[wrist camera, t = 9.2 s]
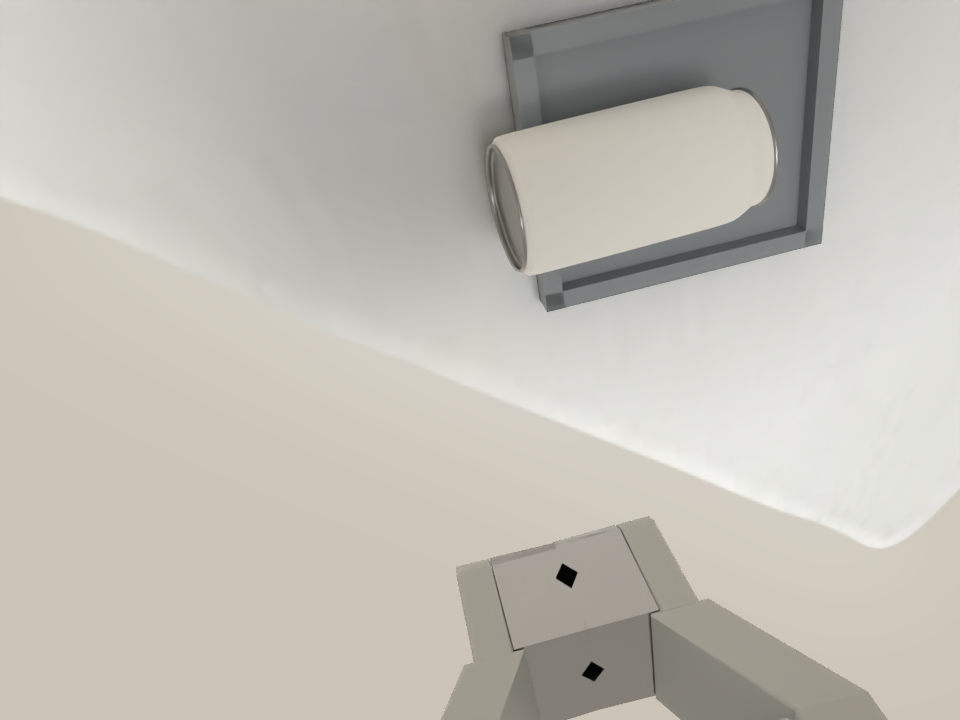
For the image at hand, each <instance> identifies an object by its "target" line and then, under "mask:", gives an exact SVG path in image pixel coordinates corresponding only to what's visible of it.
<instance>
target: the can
mask: <svg viewBox="0 0 960 720" xmlns="http://www.w3.org/2000/svg"><path fill="white" fill-rule="evenodd" d="M778 166H779V151H778V142H777V136H776V132H775V128H774V125H773V122H772V119H771V116H770V114H769V112H768V110H767V108H766V106H765V105H764V103H763V102H762V100H761V99H760V98H759V97H758V96H757V95H756V94H755V93H754V92H753V91H751V90H749V89H747V88H744V87H736V88H733V89H731V90H727V89H724V88H720V87H716V86H702V87H697V88H692V89H688V90H683V91H679V92H675V93H671V94H666V95H662V96H658V97H654V98H650V99H646V100H641V101H637V102H633V103H629V104H625V105H621V106H617V107H613V108H608V109H604V110H600V111H596V112H592V113H588V114H584V115H580V116H576V117H572V118H568V119H563V120H559V121H555V122H551V123H547V124H543V125H539V126H535V127H531V128H527V129H523V130H519V131H515V132H511V133H508V134H504V135H500V136H497V137H495V139H494V140H493V142H492V144H491V145H489V146H488V147H487V150H486V156H485V168H486V179H487V186H488V192H489V198H490V202H491V207H492V211H493V215H494V219H495V223H496V226H497V230H498V233H499V237H500V240H501V242H502V245H503V248H504V250H505V253H506V255H507V257H508V259H509V261H510V263H511V265H512V266H513V268H514V269H515V270H516V271H518V272H523V273H524V274H525V275H527V276H533V275H537V274H541V273H545V272H549V271H553V270H557V269H561V268H565V267H568V266H572V265H576V264H580V263H583V262H587V261H591V260H595V259H599V258H602V257H606V256H610V255H614V254H617V253H621V252H625V251H629V250H632V249H636V248H640V247H644V246H647V245H651V244H655V243H658V242H662V241H666V240H670V239H673V238H677V237H681V236H684V235H688V234H692V233H695V232H699V231H703V230H706V229H710V228H713V227H717V226H720V225H723V224H727V223H729V222H732V221H734V220H735V219H737V218H738V217H740V216H741V215H742V214H743V213H744V212H746V211H747V210H748V209H749V208H750V207H751V208H752V207H757V206H760V205H762V204H763V203H764V202H765V201H766V200H767V199H768V198H769V197H770V195H771V193H772V191H773V189H774V186H775V183H776V179H777V174H778Z"/></svg>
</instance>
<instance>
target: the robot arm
mask: <svg viewBox="0 0 960 720" xmlns="http://www.w3.org/2000/svg"><path fill="white" fill-rule="evenodd" d="M490 562H491V564H490ZM491 567H492V568H491ZM456 573H457V581H458V586H459V591H460V595H461V600H462V605H463V611H464V615H465V621H466V625H467V630H468V635H469V640H470V645H471V650H472V655H473V660H474V663H470V664H468V665H464V667H463V670H462V672H461V674H460V676H459V679H458V681H457V683H456V686H455V688H454V690H453V693H452V695H451V697H450V700H449V702H448V704H447V707H446V709H445V711H444V714H443V716H442V719H441V720H567V719H570V718H573V717H577V716H580V715H583V714H586V713H589V712H593V711H596V710H599V709H603V708H607V707H611V706H615V705H619V704H623V703H627V702H631V701H635V700H639V699H643V698H646V697H651V696H655V695H656V699H657V700H659V701H660V702H661V703H662V704H663V705H664V706H666V707H667V708H668V709H669V710H670V711H671V712H673V713H674V714H675V715H676V716H677V717H679V718H680V719H681V720H887V718H886V717H885V715H884V714H883V713H882V711H881V710H880V708H879V707H878V706H877V704H876V703H875V701H874V700H873V698H872V697H871V696H870V694H869V693H868V692H867V691H865V690H864V689H862V688H860V687H858V686H857V685H855V684H853V683H852V682H850V681H848V680H847V679H845V678H843V677H842V676H840V675H838V674H836V673H835V672H833V671H831V670H830V669H828V668H826V667H824V666H823V665H821V664H819V663H818V662H816V661H814V660H813V659H810V658H809V657H807V656H806V655H804V654H802V653H801V652H799V651H797V650H796V649H794V648H792V647H790V646H788V645H787V644H785V643H784V642H782V641H780V640H778V639H777V638H775V637H773V636H772V635H770V634H768V633H766V632H765V631H763V630H761V629H760V628H758V627H756V626H755V625H753V624H751V623H750V622H748V621H746V620H744V619H742V618H741V617H739V616H738V615H736V614H734V613H732V612H731V611H729V610H727V609H726V608H724V607H722V606H721V605H719V604H717V603H715V602H714V601H712V600H710V599H709V598H708V599H704V600H700V601H698V599H697V597H696V595H695V594H694V592H693V590H692V588H691V586H690V585H689V583H688V581H687V579H686V577H685V576H684V574H683V572H682V570H681V568H680V567H679V565H678V563H677V561H676V559H675V557H674V556H673V554H672V552H671V550H670V549H669V547H668V545H667V543H666V541H665V539H664V538H663V536H662V534H661V532H660V531H659V529H658V527H657V525H656V523H655V522H654V520H652V519H651V518H650V517H649V516H648V517H644V518H640V519H636V520H633V521H629V522H625V523H622V524H619V525H617V526H615V525H613V526H609V527H606V528H602V529H599V530H595V531H591V532H588V533H584V534H581V535H577V536H573V537H570V538H566V539H563V540H559V541H556V542H553V543H552V544H548V545H543V546H539V547H535V548H531V549H526V550H522V551H518V552H514V553H510V554H506V555H501V556H497V557H493V558H490V561H489V559H486V560H482V561H479V562H474V563H470V564H466V565H462V566H458V567H456Z"/></svg>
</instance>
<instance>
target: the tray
mask: <svg viewBox="0 0 960 720" xmlns="http://www.w3.org/2000/svg"><path fill="white" fill-rule="evenodd" d="M842 8H843V0H652V1H647V2H642V3H638V4H633V5H629V6H624V7H620V8H615V9H611V10H606V11H601V12H597V13H592V14H588V15H583V16H579V17H574V18H570V19H565V20H560V21H556V22H551V23H547V24H542V25H538V26H533V27H529V28H524V29H519V30H515V31H510V32H506V33H502V37H503V44H504V51H505V58H506V65H507V72H508V79H509V86H510V93H511V100H512V107H513V114H514V121H515V128H516V131H519V130H523V129H527V128H531V127H535V126H539V125H543V124H547V123H551V122H555V121H559V120H563V119H568V118H572V117H576V116H580V115H584V114H588V113H592V112H596V111H600V110H604V109H608V108H613V107H617V106H621V105H625V104H629V103H633V102H637V101H641V100H646V99H650V98H654V97H658V96H662V95H666V94H671V93H675V92H679V91H683V90H688V89H692V88H697V87H702V86H716V87H720V88H724V89H727V90H731V89H733V88H736V87H744V88H747V89H749V90H751V91H753V92H754V93H755V94H756V95H757V96H758V97H759V98H760V99H761V100H762V102H763V103H764V105H765V106H766V108H767V110H768V112H769V114H770V116H771V119H772V122H773V125H774V128H775V132H776V136H777V142H778V151H779V166H778V174H777V179H776V183H775V186H774V189H773V191H772V193H771V195H770V197H769V198H768V199H767V200H766V201H765V202H764V203H763V204H762V205H760V206H757V207H752V208H751V207H750V208H749V209H748V210H747V211H746V212H744V213H743V214H742V215H741V216H740V217H738V218H737V219H735V220H734V221H732V222H729V223H727V224H723V225H720V226H717V227H713V228H710V229H706V230H703V231H699V232H695V233H692V234H688V235H684V236H681V237H677V238H673V239H670V240H666V241H662V242H658V243H655V244H651V245H647V246H644V247H640V248H636V249H632V250H629V251H625V252H621V253H617V254H614V255H610V256H606V257H602V258H599V259H595V260H591V261H587V262H583V263H580V264H576V265H572V266H568V267H565V268H561V269H557V270H553V271H549V272H545V273H541V274H537V281H538V288H539V295H540V301H541V302H542V304H543V306H544V307H545V309H546V310H547V312H549V311H553V310H557V309H561V308H565V307H569V306H573V305H577V304H581V303H585V302H589V301H593V300H597V299H601V298H605V297H609V296H613V295H617V294H621V293H625V292H629V291H633V290H637V289H641V288H645V287H649V286H653V285H657V284H661V283H665V282H669V281H673V280H677V279H681V278H685V277H689V276H693V275H697V274H701V273H705V272H709V271H713V270H717V269H721V268H725V267H729V266H733V265H737V264H741V263H745V262H749V261H753V260H757V259H761V258H765V257H769V256H773V255H777V254H781V253H785V252H789V251H793V250H797V249H801V248H805V247H809V246H813V245H817V244H821V241H822V230H823V219H824V208H825V197H826V185H827V174H828V163H829V152H830V141H831V130H832V119H833V108H834V97H835V85H836V74H837V63H838V52H839V41H840V30H841V19H842Z"/></svg>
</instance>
